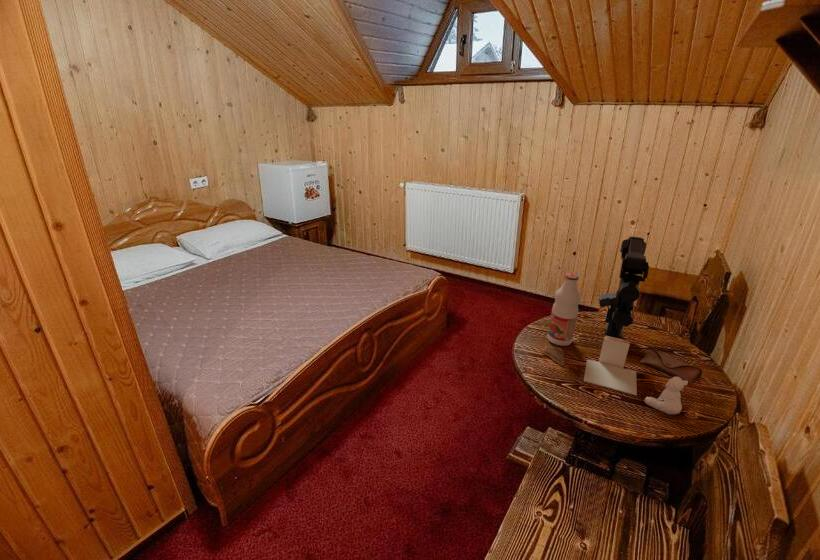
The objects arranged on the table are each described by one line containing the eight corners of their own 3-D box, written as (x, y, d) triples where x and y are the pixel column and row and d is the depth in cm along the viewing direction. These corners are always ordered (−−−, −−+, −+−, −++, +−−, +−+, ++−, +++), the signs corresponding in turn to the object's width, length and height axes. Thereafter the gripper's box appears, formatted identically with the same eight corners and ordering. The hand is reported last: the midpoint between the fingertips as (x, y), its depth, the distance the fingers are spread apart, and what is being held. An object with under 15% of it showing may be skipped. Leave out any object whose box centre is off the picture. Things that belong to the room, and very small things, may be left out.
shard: (563, 368, 144) (564, 363, 143) (541, 364, 146) (542, 359, 145) (562, 352, 153) (563, 348, 152) (542, 348, 155) (542, 344, 155)
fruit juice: (575, 346, 156) (589, 280, 145) (550, 345, 156) (562, 279, 145) (567, 334, 164) (580, 270, 153) (544, 333, 165) (555, 270, 154)
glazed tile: (599, 358, 149) (604, 335, 145) (623, 364, 145) (629, 341, 142) (598, 362, 147) (604, 338, 143) (623, 368, 143) (629, 344, 139)
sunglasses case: (637, 361, 147) (645, 345, 147) (641, 363, 152) (649, 347, 152) (693, 385, 135) (701, 367, 135) (696, 387, 140) (704, 369, 140)
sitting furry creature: (665, 396, 130) (675, 364, 125) (689, 413, 122) (701, 381, 118) (642, 401, 127) (651, 370, 122) (665, 420, 120) (677, 387, 115)
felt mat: (586, 360, 148) (587, 359, 147) (635, 372, 141) (636, 371, 141) (583, 381, 136) (583, 380, 136) (636, 395, 130) (636, 394, 129)
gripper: (604, 277, 152) (595, 313, 159) (601, 296, 137) (592, 335, 143) (637, 283, 148) (627, 320, 154) (638, 303, 133) (627, 343, 139)
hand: (617, 329), depth 148 cm, fingers closed
